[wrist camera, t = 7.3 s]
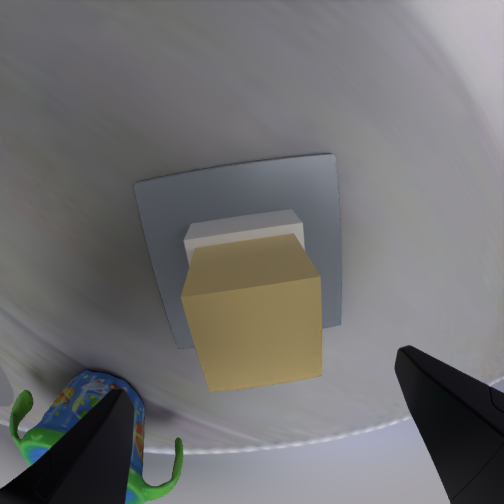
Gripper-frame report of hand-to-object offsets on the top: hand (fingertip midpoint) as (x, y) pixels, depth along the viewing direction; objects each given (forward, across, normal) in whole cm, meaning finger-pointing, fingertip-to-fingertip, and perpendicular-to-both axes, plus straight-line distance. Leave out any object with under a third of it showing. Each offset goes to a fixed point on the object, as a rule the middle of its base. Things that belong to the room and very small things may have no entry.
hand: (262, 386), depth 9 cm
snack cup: (+12, +15, +12) cm, 23 cm away
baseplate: (+12, 0, 0) cm, 12 cm away
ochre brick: (+8, 0, 0) cm, 8 cm away
